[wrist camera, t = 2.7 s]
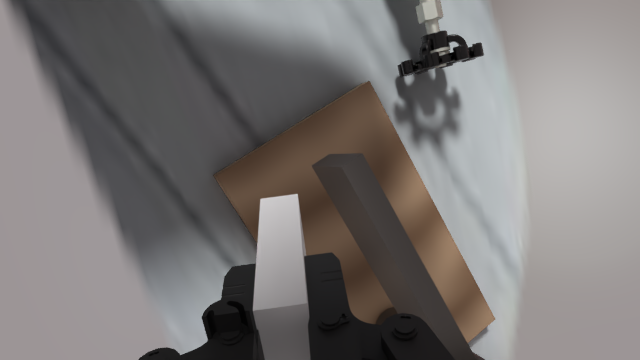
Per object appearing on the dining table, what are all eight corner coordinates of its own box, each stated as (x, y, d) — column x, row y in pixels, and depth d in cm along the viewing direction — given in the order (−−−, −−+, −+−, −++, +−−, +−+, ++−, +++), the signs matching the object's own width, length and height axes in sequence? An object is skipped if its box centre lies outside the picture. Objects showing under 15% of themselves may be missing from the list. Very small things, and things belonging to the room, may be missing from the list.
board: (213, 175, 34) (216, 176, 33) (361, 83, 38) (371, 80, 36) (368, 418, 40) (378, 430, 38) (486, 317, 43) (500, 324, 41)
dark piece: (267, 176, 34) (348, 190, 20) (320, 142, 35) (431, 132, 21) (401, 396, 39) (545, 535, 24) (444, 359, 40) (604, 471, 26)
